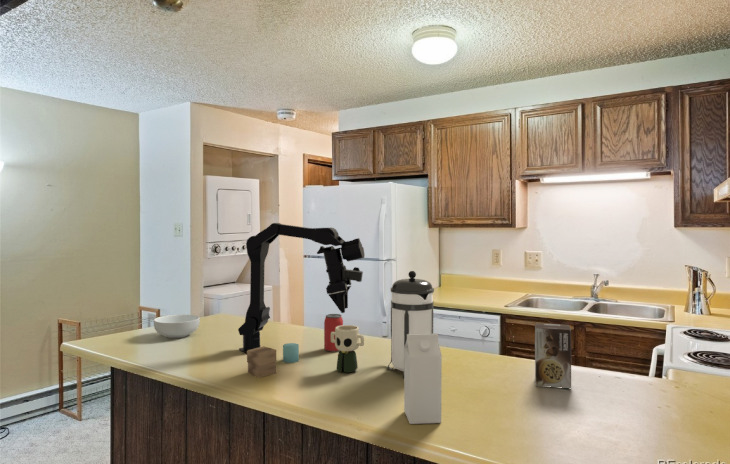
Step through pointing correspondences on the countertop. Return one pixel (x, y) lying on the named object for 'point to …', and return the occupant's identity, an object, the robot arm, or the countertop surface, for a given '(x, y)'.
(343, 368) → the character mug
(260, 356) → the stepped brown block
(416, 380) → the milk carton
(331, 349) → the beer can
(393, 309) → the coffee press
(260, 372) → the bottom slab
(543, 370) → the cookie box
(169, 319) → the cereal bowl
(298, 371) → the countertop surface
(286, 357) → the teal rounded cylinder
